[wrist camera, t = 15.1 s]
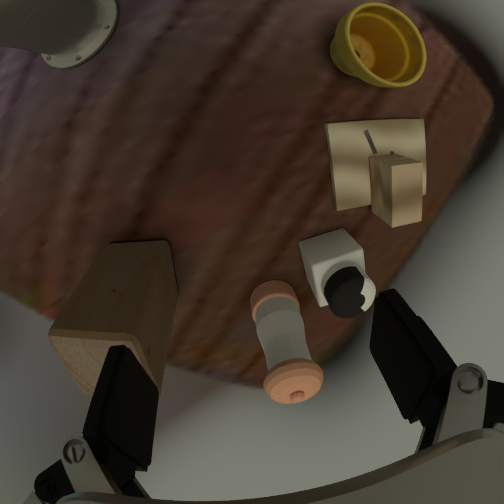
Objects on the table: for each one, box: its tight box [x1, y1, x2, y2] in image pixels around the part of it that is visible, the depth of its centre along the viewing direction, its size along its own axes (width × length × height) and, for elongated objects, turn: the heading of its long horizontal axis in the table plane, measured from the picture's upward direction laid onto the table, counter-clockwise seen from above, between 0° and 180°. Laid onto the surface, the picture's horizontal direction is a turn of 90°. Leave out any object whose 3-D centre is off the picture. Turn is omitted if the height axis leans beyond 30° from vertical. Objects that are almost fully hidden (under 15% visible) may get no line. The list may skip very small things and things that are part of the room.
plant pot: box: [330, 2, 426, 87], centre depth 23 cm, size 10×10×10 cm
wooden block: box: [48, 240, 178, 398], centre depth 31 cm, size 10×10×20 cm
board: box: [325, 119, 426, 211], centre depth 35 cm, size 12×16×1 cm
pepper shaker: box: [250, 280, 323, 404], centre depth 36 cm, size 7×7×19 cm
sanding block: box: [368, 154, 423, 227], centre depth 33 cm, size 8×5×6 cm, turn 11°
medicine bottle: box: [299, 228, 376, 318], centre depth 36 cm, size 7×7×12 cm
